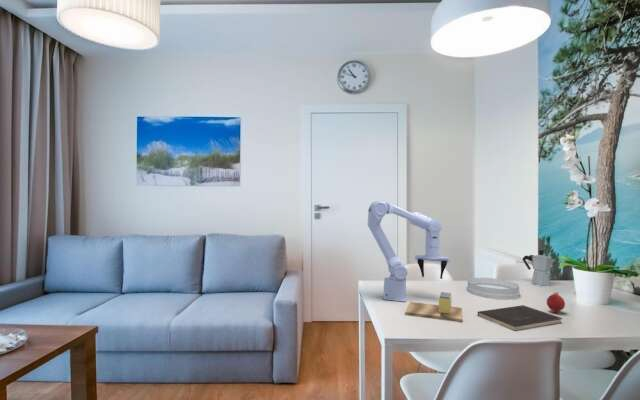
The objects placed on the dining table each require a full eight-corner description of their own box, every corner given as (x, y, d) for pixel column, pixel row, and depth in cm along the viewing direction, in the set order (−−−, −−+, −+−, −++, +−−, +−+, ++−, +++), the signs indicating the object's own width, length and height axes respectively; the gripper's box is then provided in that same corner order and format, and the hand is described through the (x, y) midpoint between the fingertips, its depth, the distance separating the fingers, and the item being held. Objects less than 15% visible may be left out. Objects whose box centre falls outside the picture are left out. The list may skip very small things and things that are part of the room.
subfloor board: (405, 314, 128) (405, 311, 128) (409, 304, 141) (409, 301, 141) (462, 322, 121) (462, 318, 121) (461, 310, 134) (461, 307, 134)
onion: (559, 316, 128) (559, 294, 128) (543, 311, 134) (543, 291, 134) (567, 313, 131) (568, 293, 131) (551, 309, 136) (552, 289, 136)
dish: (528, 295, 157) (529, 284, 157) (504, 303, 145) (504, 291, 145) (482, 285, 176) (483, 275, 176) (457, 291, 163) (457, 281, 163)
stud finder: (438, 312, 127) (438, 296, 127) (440, 307, 134) (440, 291, 134) (450, 313, 126) (450, 297, 126) (451, 308, 132) (451, 293, 132)
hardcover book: (562, 324, 121) (562, 318, 121) (514, 332, 113) (514, 325, 113) (521, 310, 136) (521, 304, 136) (477, 317, 128) (477, 310, 128)
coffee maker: (557, 285, 175) (557, 250, 175) (554, 288, 169) (554, 252, 169) (524, 280, 186) (524, 247, 185) (520, 283, 179) (520, 249, 179)
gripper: (450, 246, 150) (449, 277, 150) (416, 244, 156) (416, 274, 156) (449, 248, 144) (449, 280, 144) (414, 246, 149) (414, 277, 149)
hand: (432, 277), depth 149 cm, fingers open, 7 cm apart
